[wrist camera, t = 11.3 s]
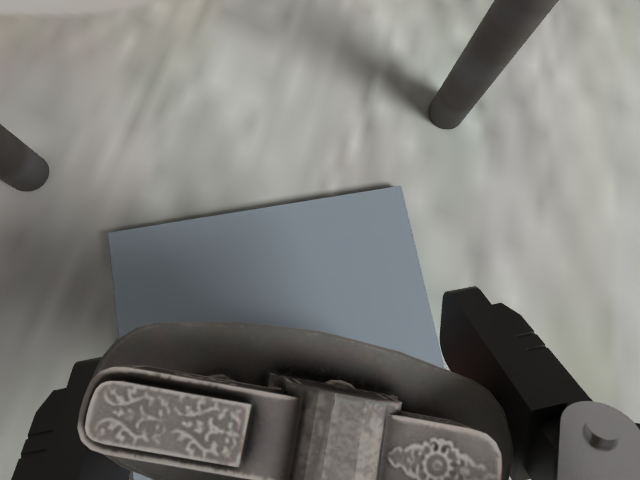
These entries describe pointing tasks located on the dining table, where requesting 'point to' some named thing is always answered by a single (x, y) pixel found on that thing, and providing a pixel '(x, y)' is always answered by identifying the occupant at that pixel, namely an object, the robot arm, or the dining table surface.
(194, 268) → the pad
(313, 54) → the dining table surface
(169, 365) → the lighter
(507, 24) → the miniature side table
